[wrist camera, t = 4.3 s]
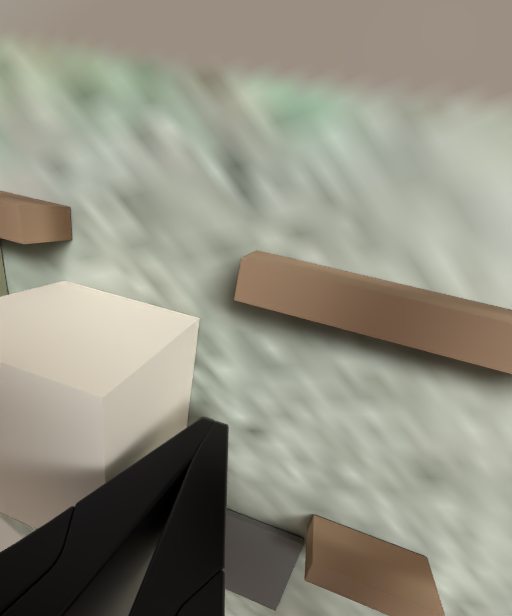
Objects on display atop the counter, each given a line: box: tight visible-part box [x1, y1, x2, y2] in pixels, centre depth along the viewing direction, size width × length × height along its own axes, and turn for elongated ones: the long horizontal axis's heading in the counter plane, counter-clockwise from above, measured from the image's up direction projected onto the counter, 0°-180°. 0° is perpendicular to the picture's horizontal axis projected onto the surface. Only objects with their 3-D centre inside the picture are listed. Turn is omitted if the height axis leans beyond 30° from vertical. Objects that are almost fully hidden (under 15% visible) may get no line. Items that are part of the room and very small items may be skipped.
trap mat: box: [224, 509, 304, 611], centre depth 12 cm, size 7×5×1 cm
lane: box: [0, 191, 512, 616], centre depth 8 cm, size 18×10×2 cm, turn 78°
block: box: [0, 281, 200, 529], centre depth 8 cm, size 5×5×4 cm
